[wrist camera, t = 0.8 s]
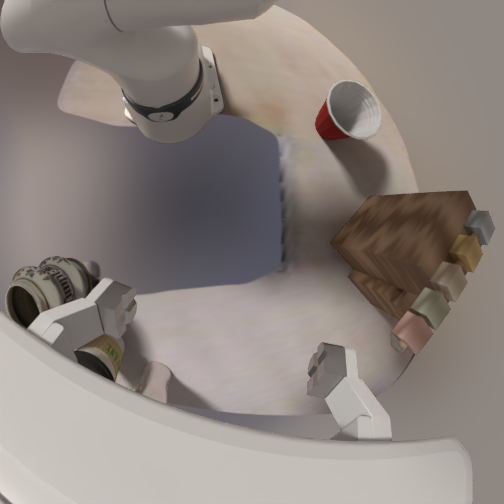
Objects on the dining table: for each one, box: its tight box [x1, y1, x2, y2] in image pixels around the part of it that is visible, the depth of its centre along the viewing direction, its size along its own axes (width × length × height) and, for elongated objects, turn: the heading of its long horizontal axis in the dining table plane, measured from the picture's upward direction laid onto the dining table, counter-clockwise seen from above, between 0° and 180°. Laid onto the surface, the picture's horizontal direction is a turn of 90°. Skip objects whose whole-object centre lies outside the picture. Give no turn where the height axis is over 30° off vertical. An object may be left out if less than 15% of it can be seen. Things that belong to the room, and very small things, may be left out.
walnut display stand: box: [330, 191, 482, 320], centre depth 40 cm, size 16×17×26 cm
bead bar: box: [391, 210, 495, 355], centre depth 25 cm, size 20×3×3 cm, turn 136°
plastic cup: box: [315, 79, 382, 140], centre depth 42 cm, size 11×11×12 cm
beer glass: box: [133, 362, 172, 404], centre depth 43 cm, size 7×7×15 cm
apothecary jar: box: [5, 256, 92, 330], centre depth 36 cm, size 12×12×18 cm
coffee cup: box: [74, 333, 125, 382], centre depth 40 cm, size 10×10×15 cm
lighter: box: [390, 332, 407, 353], centre depth 53 cm, size 7×2×8 cm, turn 17°
